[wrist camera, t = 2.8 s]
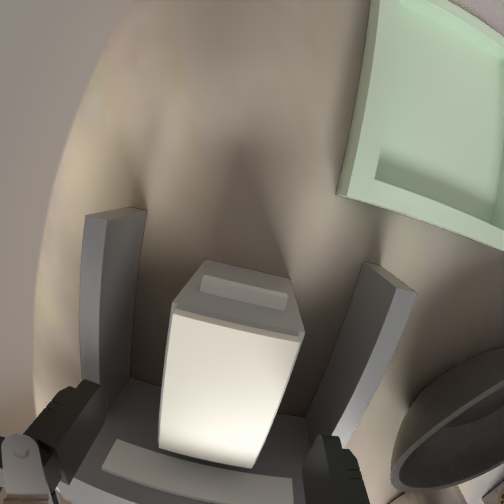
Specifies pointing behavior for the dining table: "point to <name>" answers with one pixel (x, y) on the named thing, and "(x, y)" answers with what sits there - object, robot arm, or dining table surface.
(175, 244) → the dining table surface
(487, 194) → the tray
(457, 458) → the bowl
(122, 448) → the bay
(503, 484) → the coffee box
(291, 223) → the dining table surface
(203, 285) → the white block
